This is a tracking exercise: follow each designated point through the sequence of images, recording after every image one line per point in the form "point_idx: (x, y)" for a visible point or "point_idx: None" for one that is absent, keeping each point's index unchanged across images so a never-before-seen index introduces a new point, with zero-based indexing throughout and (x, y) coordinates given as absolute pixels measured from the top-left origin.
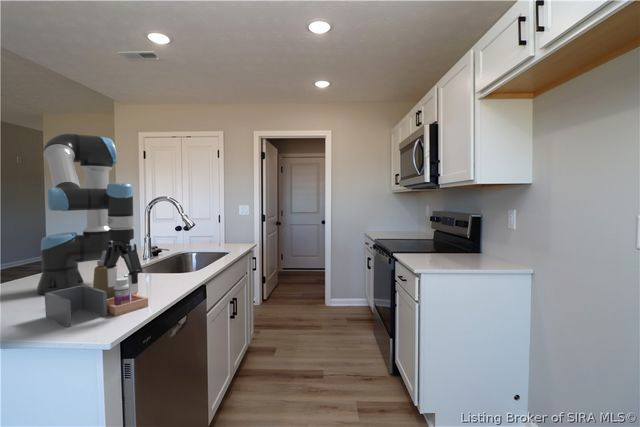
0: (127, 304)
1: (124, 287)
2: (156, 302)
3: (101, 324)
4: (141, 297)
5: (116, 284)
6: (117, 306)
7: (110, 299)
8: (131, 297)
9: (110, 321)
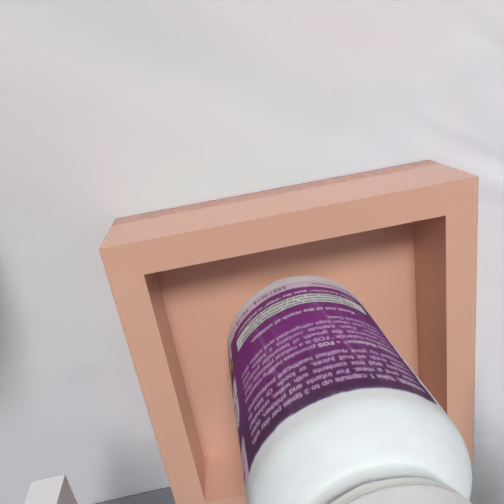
0: (471, 374)
1: (469, 499)
2: (377, 41)
3: (495, 487)
4: (393, 220)
5: (64, 495)
6: (466, 446)
7: (192, 446)
8: (377, 325)
9: (494, 446)
